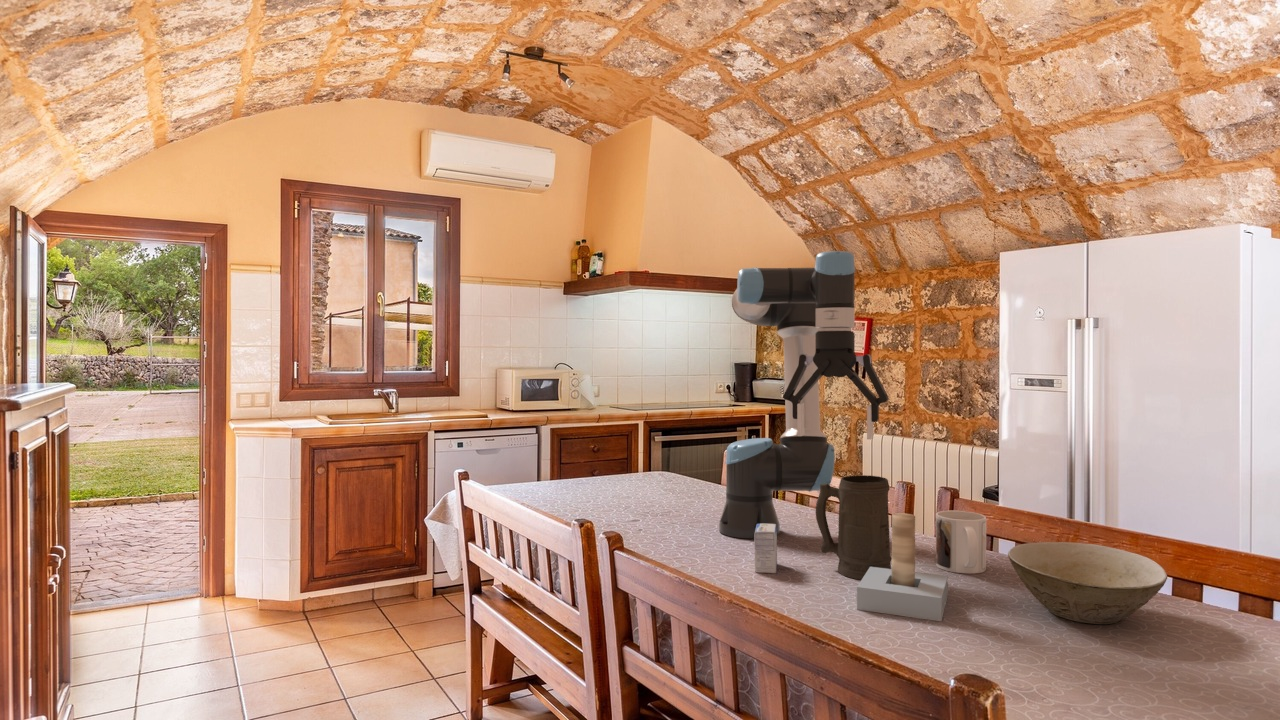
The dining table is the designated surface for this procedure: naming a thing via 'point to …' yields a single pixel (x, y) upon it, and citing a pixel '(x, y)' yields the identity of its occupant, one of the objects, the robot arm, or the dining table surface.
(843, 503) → the beer stein
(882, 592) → the socket block
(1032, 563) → the bowl
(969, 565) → the mug
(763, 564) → the medicine box
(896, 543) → the beech peg
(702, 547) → the dining table surface
